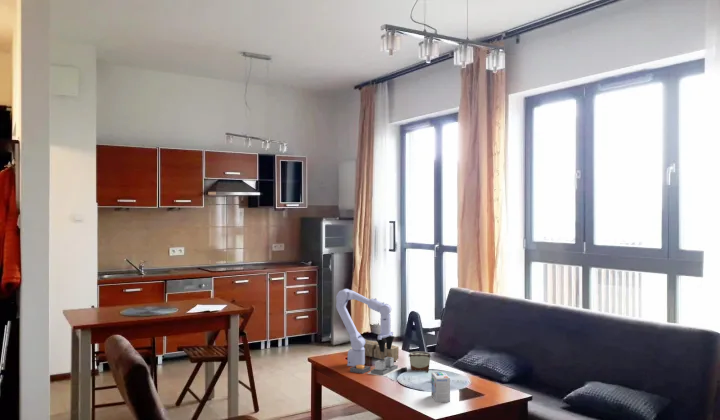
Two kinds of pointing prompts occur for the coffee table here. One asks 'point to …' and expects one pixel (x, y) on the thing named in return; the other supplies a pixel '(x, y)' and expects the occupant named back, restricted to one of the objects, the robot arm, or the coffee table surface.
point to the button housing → (362, 371)
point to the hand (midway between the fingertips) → (385, 350)
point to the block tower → (374, 350)
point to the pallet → (386, 372)
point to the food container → (419, 360)
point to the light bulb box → (440, 387)
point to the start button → (360, 366)
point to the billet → (389, 362)
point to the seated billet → (380, 365)
